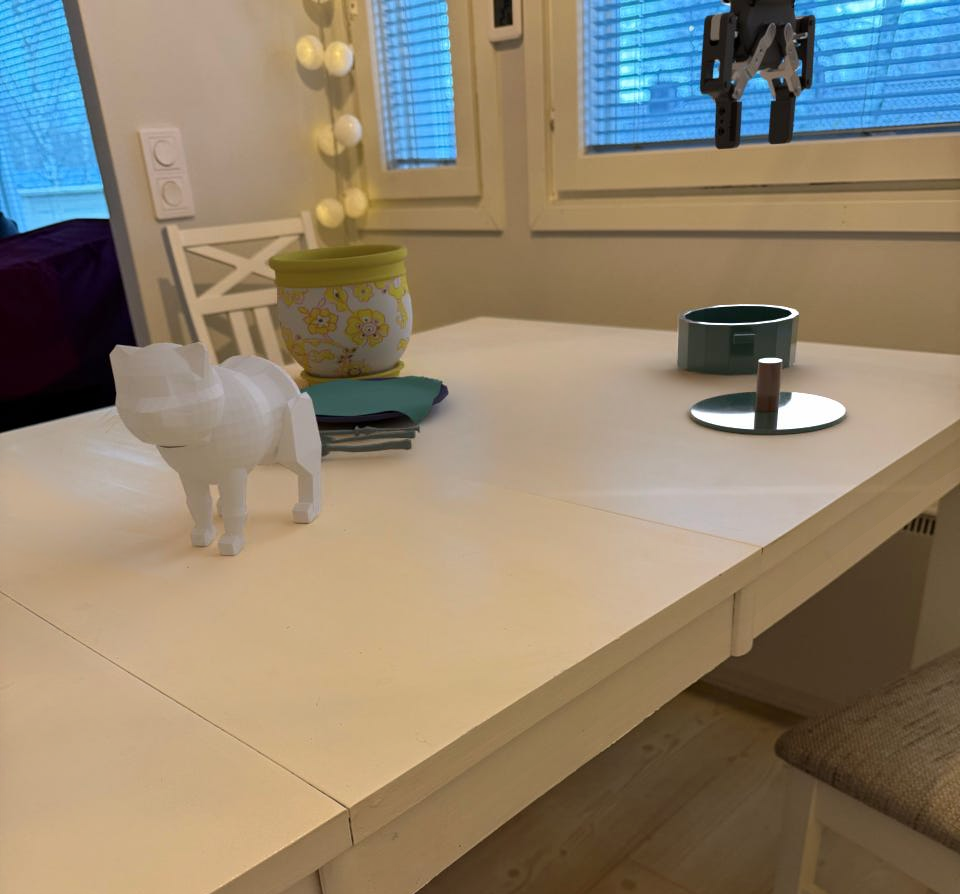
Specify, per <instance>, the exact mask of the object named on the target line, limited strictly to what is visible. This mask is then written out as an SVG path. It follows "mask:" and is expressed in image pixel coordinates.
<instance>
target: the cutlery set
mask: <svg viewBox="0 0 960 894" xmlns="http://www.w3.org/2000/svg"><path fill="white" fill-rule="evenodd" d="M299 391H300V393H301V394H302V393H304V392H307V394H308V395H309V396H310V398H311V399H312V403H313V407H314V412H315V417H316V421H317V422H320V423H360V422H373V421H379V420H384V419H385V420H386V419H391V418H397V417H402V416H405V415H406V416H407V417H409V419H410V420H412V422H413V423H414V424H415V425H418V424H419V423H420V422H421V421H423V420H424V419H425V418H426V417H427V415H428V414H429V413H430V412H431V409H432V407H433V406H436V405H437V404H440V403H441V402H442V401H444V400H445V399H446V398H447V396H448V395H449V388H448V385H446V384H443V380H440V379H435V378H433V377H432V378H431V377H430V378H429V377H427V376H418V375H407V376H398V377H385V378H369V379H357V380H350V379H340V380H334V381H328V382H324V383H320V384H315V385H312V386H310V385H309V386H305V387H301V388H300V389H299ZM416 432H418V434H420V433H421V426H420V425H418V426H413V427H401V428H400V427H399V428H396V427H395V428H394V427H384V428H383V427H381V428H378V427H372V426H368V425H367V426H365V427H362V428H361V427H359V426H358V425H356V426H355V428H354V429H337V430H336V429H333V430H331V429H329V430H328V429H327V430H319V435H320V440H321V444H322V447H321V458H323V457H326V456H328V455H329V454H330V453H331V452H344V453H369V452H381V451H390V450H405V451H408V450H411V449H412V448H413V446H412V445H413V444H412V440H413V439H416ZM362 434H363V435H362ZM349 435H354V436H349ZM333 436H348V437H344V438H339V439H337V438H335V437H333ZM385 439H390V440H389V441H384V442H377V443H371V444H370V443H369V444H362V445H361V444H360V445H359V444H358V445H344V444H342V445H341V444H340V443H349V442H359V441H361V442H362V441H367V440H385ZM391 439H402V440H391ZM330 444H333V445H330ZM335 444H336V445H335ZM337 444H339V445H337Z"/></svg>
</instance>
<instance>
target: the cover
mask: <svg viewBox="0 0 960 894" xmlns="http://www.w3.org/2000/svg"><path fill="white" fill-rule="evenodd" d="M782 362H783V361H782V360H781V359H777V358H765V359H760V360H758V370H757V374H756V385H755V386H756V387H755V391H743V392H733V393H727V394H720V395H716V396H712V397H708V398H705V399H702V400H700V401H697V402H696V403H695V404H694V405H692V406H691V408H690V414H689V415H690V418H691V419H692V421H693V422H695V423H696V424H699V425H701V426H703V427H705V428H709V429H712V430H717V431H723V432H728V433H737V434H746V435H790V434H801V433H808V432H815V431H818V430H820V431H821V430H823V429H824V430H825V429H827V428H830V427H833V426H836V425H837V424H840V423H842V421H843V420H844V419H845V417H846V414H847V413H846V412H847V409H846V407H845V406H844V405H843V404H842V403H840V402H838V401H837V400H833V399H831V398H828V397H824V396H822V395H821V396H820V395H815V394H810V393H809V394H808V393H803V392H794V391H793V392H792V391H781V384H782V373H783V369H782Z"/></svg>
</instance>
